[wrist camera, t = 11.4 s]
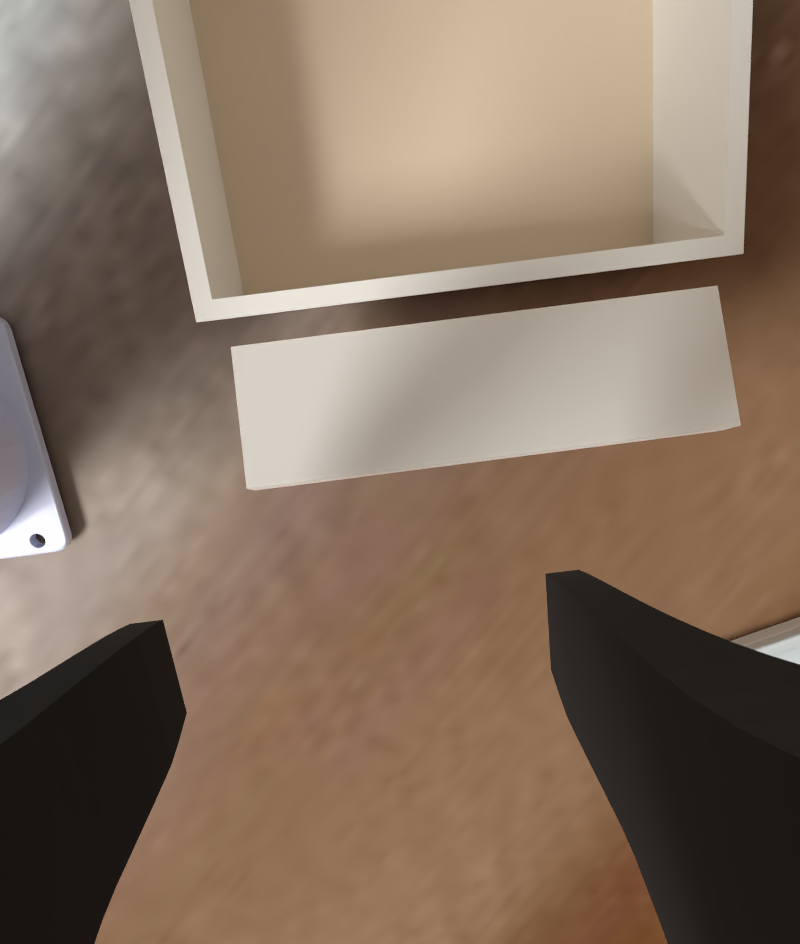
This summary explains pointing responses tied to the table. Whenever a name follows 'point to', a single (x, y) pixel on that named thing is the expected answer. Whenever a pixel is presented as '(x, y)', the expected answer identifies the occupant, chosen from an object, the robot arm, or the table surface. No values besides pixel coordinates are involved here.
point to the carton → (442, 142)
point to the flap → (483, 388)
